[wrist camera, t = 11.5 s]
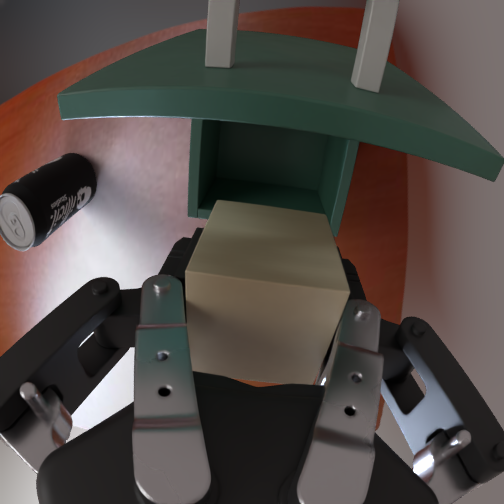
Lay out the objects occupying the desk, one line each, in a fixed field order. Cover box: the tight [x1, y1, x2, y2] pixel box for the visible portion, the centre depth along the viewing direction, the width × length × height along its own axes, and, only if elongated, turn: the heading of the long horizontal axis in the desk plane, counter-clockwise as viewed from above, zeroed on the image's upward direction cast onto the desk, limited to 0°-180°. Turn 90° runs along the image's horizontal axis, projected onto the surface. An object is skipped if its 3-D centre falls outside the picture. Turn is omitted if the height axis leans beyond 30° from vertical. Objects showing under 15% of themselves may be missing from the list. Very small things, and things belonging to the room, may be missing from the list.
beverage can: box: [0, 153, 97, 251], centre depth 26 cm, size 7×7×12 cm
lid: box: [57, 0, 504, 182], centre depth 9 cm, size 14×12×6 cm
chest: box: [188, 119, 359, 237], centre depth 24 cm, size 14×12×9 cm
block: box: [185, 200, 350, 385], centre depth 11 cm, size 4×4×5 cm
